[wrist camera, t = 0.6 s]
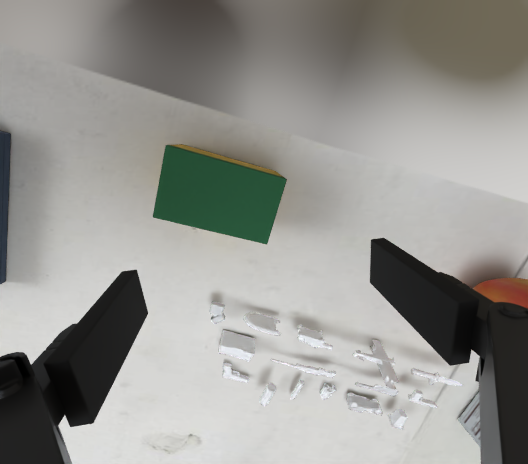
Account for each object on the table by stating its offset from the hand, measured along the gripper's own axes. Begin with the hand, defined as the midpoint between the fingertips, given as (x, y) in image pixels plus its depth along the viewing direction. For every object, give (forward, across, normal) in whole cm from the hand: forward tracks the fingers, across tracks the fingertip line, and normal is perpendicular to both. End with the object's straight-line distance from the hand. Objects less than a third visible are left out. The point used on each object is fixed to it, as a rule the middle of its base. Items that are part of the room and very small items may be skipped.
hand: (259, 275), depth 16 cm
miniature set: (+16, +8, -23) cm, 29 cm away
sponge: (+16, -2, +3) cm, 17 cm away
